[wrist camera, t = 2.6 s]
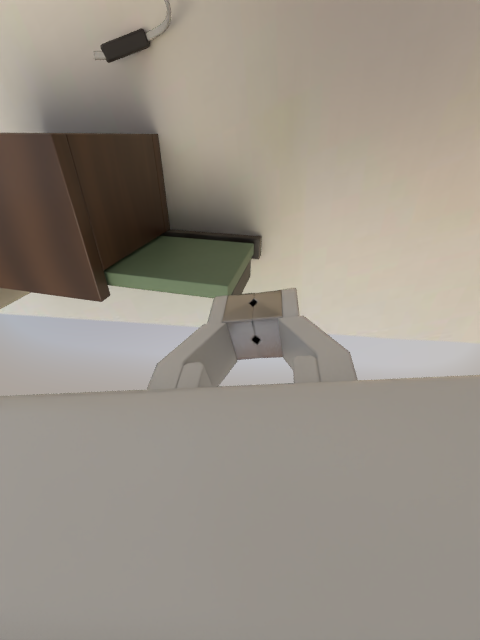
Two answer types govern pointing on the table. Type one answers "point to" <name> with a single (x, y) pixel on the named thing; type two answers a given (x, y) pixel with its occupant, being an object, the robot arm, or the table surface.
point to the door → (185, 267)
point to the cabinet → (81, 209)
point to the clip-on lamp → (131, 41)
